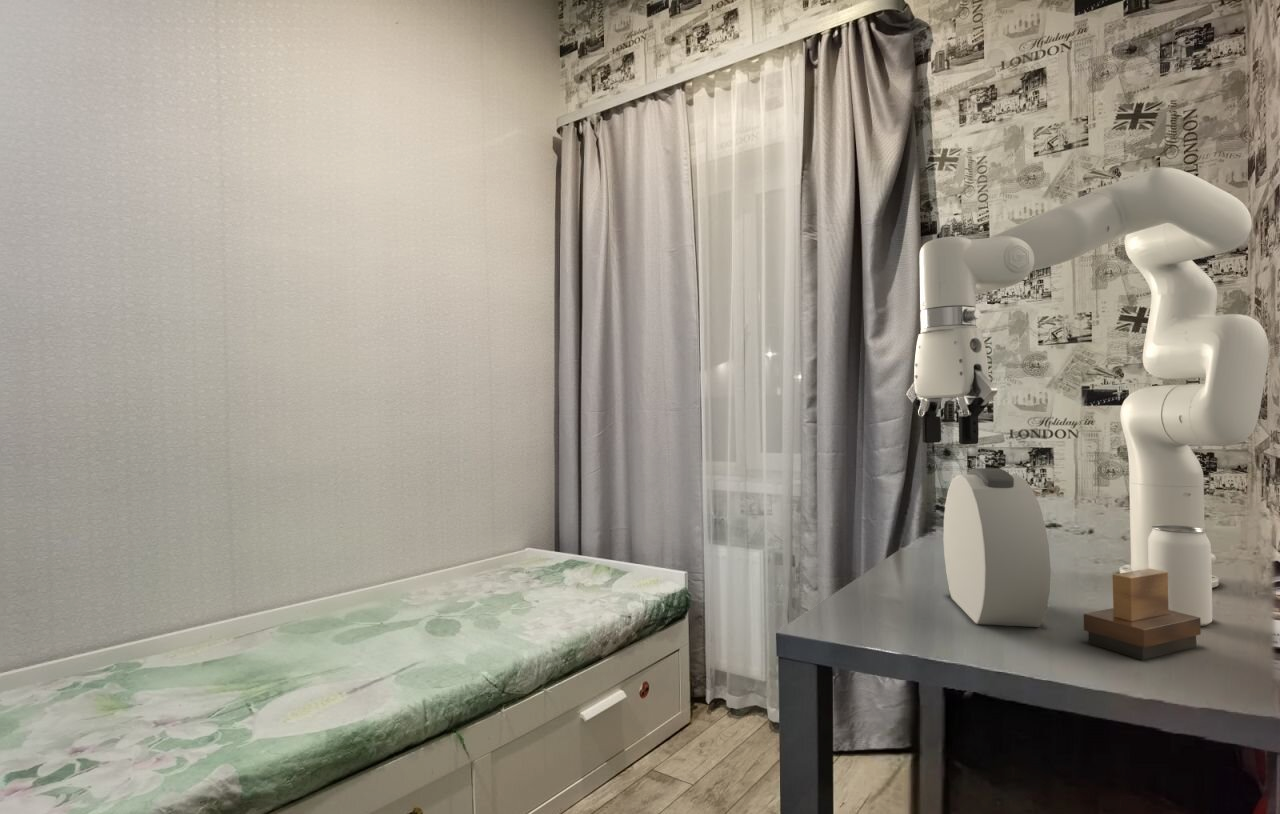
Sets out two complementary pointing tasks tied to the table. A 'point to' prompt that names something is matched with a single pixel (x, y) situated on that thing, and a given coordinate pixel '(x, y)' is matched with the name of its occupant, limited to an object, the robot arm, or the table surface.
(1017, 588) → the alarm clock
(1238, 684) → the table surface
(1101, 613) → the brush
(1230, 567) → the table surface
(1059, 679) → the table surface
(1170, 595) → the can
